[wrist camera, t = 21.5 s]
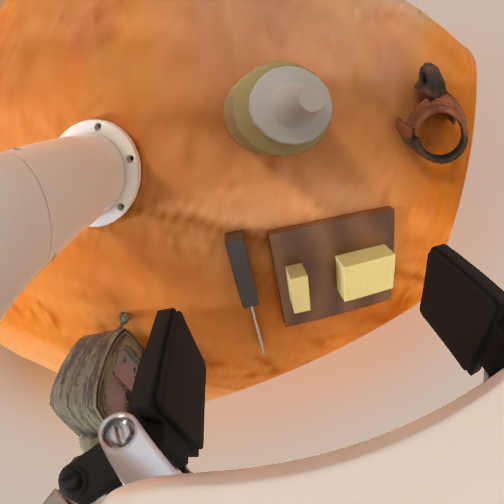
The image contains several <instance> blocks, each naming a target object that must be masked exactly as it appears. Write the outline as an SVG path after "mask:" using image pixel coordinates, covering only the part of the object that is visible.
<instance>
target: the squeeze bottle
mask: <svg viewBox="0 0 504 504" xmlns="http://www.w3.org/2000/svg"><path fill="white" fill-rule="evenodd" d="M332 104H333V103H332V100H331V97H330V94H329V90H328V88H327V87H326V86H325V84H324V83H323V82H322V81H321V80H320V78H319V77H318V76H316V75H315V73H313V72H311V71H310V70H308V69H306V68H304V67H302V66H301V65H299V64H296V63H289V62H282V61H275V62H271V63H267V64H263V65H259V66H257V67H256V68H255V69H253V70H252V71H251V72H249V73H248V74H247V75H245V76H244V77H243V78H242V79H241V80H239V81H238V82H237V83H236V84H235V85H234V86H233V87H232V88H231V90H230V92H229V94H228V96H227V98H226V99H225V101H224V111H223V120H224V122H225V125H226V128H227V131H228V133H229V135H230V136H231V137H232V138H233V139H234V140H235V141H236V142H237V143H238V144H239V145H240V146H241V147H243V148H245V149H247V150H249V151H251V152H253V153H256V154H270V155H286V156H290V155H293V154H297V153H300V152H304V151H307V150H309V149H310V148H311V147H312V146H314V145H315V144H316V143H317V142H319V141H320V140H321V139H322V138H323V136H324V134H325V132H326V130H327V129H328V127H329V125H330V121H331V115H332Z"/></svg>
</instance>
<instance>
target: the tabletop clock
mask: <svg viewBox="0 0 504 504" xmlns="http://www.w3.org/2000/svg"><path fill="white" fill-rule="evenodd" d="M129 320H130V317H129V315H128V314H127V313H126V312H122V313H120V315H119V321H120V322H121V323H120V325H119V327H118V329H117V330H114V331H109V332H103V333H98V334H92V335H87V336H84V337H82V338H80V339H79V340H78V341H77V342H76V343H75V345H74V346H73V347H72V349H71V350H70V352H69V353H68V355H67V357H66V358H65V360H64V362H63V363H62V365H61V367H60V369H59V372H58V374H57V377H56V379H55V381H54V384H53V387H52V390H51V395H50V405H51V407H52V409H53V410H54V412H55V413H56V414H57V416H58V417H59V418H60V419H61V420H62V421H63V422H64V423H65V424H66V425H67V426H69V428H71V429H72V430H73V431H74V432H75V433H76V434H77V435H78V436H79V443H80V446H81V449H82V450H83V452H84V453H85V452H87V451H88V450H89V449H91V448H92V447H94V446H95V445H96V444H98V443H99V439H98V430H99V428H100V425H101V424H102V422H103V421H104V420H105V419H106V418H107V417H108V416H110V415H112V414H114V413H118V412H127V408H128V404H129V400H130V396H131V392H132V388H133V384H134V380H135V377H136V373H137V369H138V366H139V362H140V359H141V355H142V353H143V351H144V349H143V347H142V346H141V345H140V344H139V342H138V341H137V340H136V338H135V337H134V336H133V335H132V334H131V333H130V332H129V331H128V330H126V329H125V328H124V329H123V326H124V324H126V323H128V321H129ZM78 457H80V456H77V457H75V458H74V459H73V460H72V461H74V460H75V459H77V458H78ZM72 461H71V462H72Z"/></svg>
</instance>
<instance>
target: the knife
mask: <svg viewBox="0 0 504 504" xmlns="http://www.w3.org/2000/svg"><path fill="white" fill-rule="evenodd" d="M225 245H226V249H227V252H228V256H229V259H230V263H231V267H232V270H233V274H234V278H235V281H236V285H237V288H238V292H239V295H240V299H241V302H242V306H243V308H247V307H250V308H251V312H252V315H253V319H254V323H255V327H256V330H257V334H258V338H259V341H260V345H261V348H262V352H263V354H265V350H264V343H263V339H262V335H261V332H260V328H259V324H258V320H257V316H256V312H255V308H254V306H257V305H259V300H258V294H257V290H256V285H255V281H254V277H253V273H252V269H251V264H250V260H249V256H248V252H247V248H246V244H245V239H244V235H243V231H242V230H238V231H233V232H229V233H225Z"/></svg>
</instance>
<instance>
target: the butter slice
mask: <svg viewBox="0 0 504 504" xmlns="http://www.w3.org/2000/svg"><path fill="white" fill-rule="evenodd" d="M286 274H287V282H288V289H289V296H290V301H291V304H292V307H293V310H294V313H295V314H296V313H300V312H305V311H309V310H311V309H310V296H309V284H308V275H307V273H306V271H305V269H304V267H303V265H302V263H299V264H294V265H289V266H286Z"/></svg>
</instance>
